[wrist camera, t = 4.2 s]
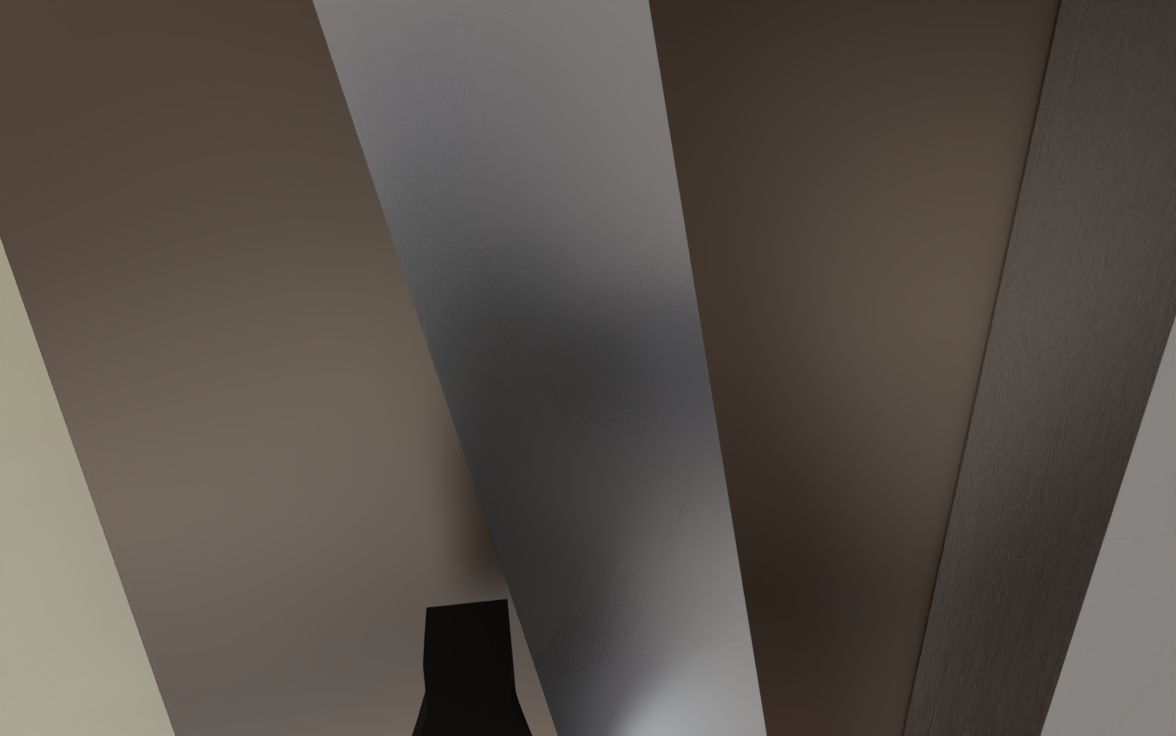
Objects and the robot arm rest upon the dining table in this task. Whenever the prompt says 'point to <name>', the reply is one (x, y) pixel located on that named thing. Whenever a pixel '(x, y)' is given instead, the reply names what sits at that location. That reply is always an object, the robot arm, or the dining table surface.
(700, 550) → the tong arm
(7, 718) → the dining table surface
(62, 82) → the walnut board
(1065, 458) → the grey long bar
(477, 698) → the robot arm
